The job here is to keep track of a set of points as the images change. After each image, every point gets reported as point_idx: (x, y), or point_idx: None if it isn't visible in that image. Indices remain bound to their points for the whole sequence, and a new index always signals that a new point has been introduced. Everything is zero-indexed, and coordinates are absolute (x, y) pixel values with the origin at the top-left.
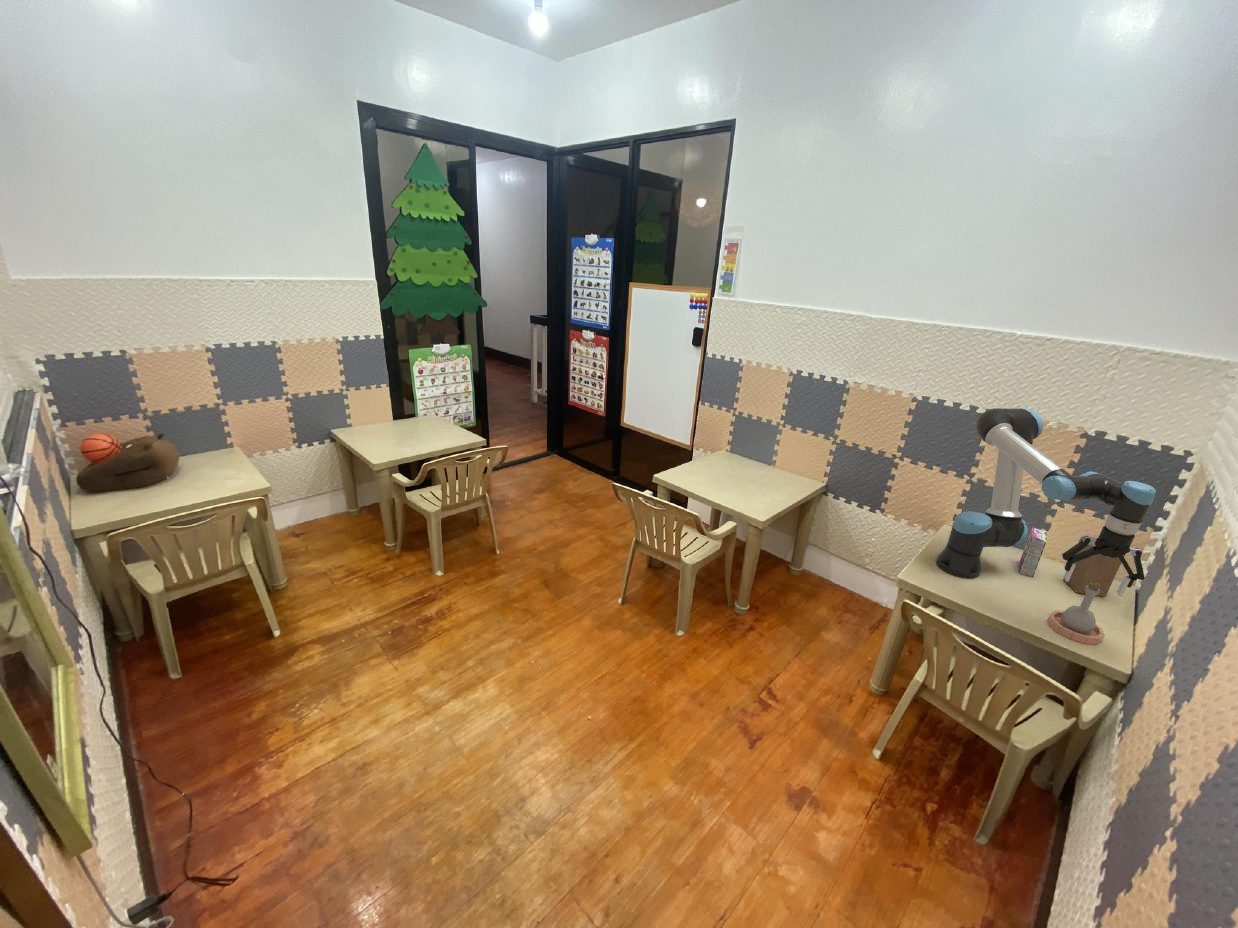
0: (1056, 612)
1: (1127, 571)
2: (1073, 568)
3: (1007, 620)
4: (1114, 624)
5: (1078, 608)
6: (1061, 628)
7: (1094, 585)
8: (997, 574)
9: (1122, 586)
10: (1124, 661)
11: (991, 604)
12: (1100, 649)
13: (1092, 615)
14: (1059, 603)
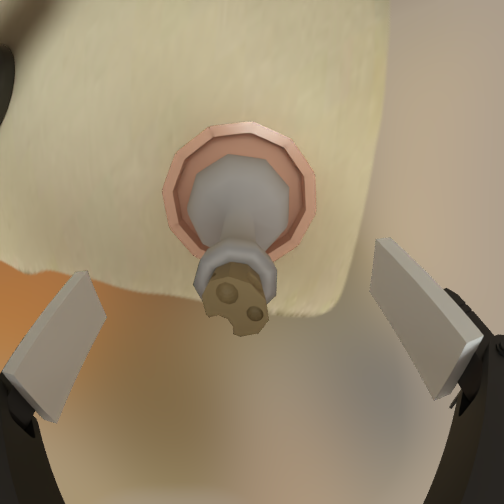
0: (179, 165)
1: (443, 462)
2: (64, 395)
3: (95, 274)
4: (356, 68)
5: (221, 224)
6: (199, 257)
7: (233, 318)
8: (50, 21)
9: (400, 327)
10: (344, 272)
11: (52, 220)
12: (299, 255)
13: (272, 233)
14: (203, 37)
